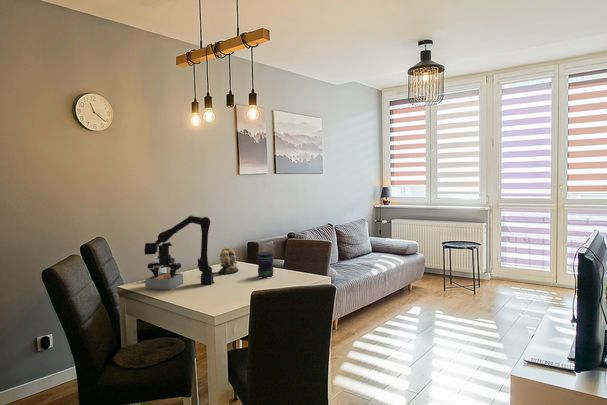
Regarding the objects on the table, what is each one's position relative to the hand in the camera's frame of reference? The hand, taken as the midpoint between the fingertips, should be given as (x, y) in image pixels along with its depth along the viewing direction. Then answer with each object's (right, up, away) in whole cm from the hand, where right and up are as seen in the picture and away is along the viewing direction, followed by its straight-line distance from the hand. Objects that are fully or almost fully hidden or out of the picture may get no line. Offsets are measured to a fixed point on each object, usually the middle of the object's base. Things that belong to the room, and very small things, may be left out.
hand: (164, 280), depth 238 cm
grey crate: (0, -4, 0) cm, 4 cm away
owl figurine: (+30, -2, +37) cm, 48 cm away
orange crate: (0, -3, 0) cm, 3 cm away
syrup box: (-8, -3, +18) cm, 20 cm away
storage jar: (+57, -2, +22) cm, 61 cm away
